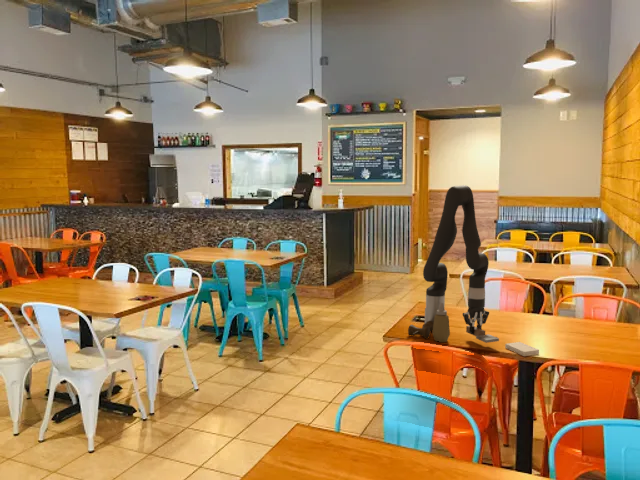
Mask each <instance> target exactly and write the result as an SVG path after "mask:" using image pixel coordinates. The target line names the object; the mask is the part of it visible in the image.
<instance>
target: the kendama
mask: <svg viewBox="0 0 640 480" xmlns="http://www.w3.org/2000/svg"><path fill="white" fill-rule="evenodd" d="M433 324H434V323H433V322H431V321H428V322H426V323H425V322H424V324H422V327H417V326H415V325H414V324H410V325H409V326H408V328H407V329H408V330H407V333H408V336H409V335H413V336H421V337H423V338H424V339H425V338H428V337H429V338H430V335H431V332H433ZM429 338H428V339H429Z"/></svg>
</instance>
